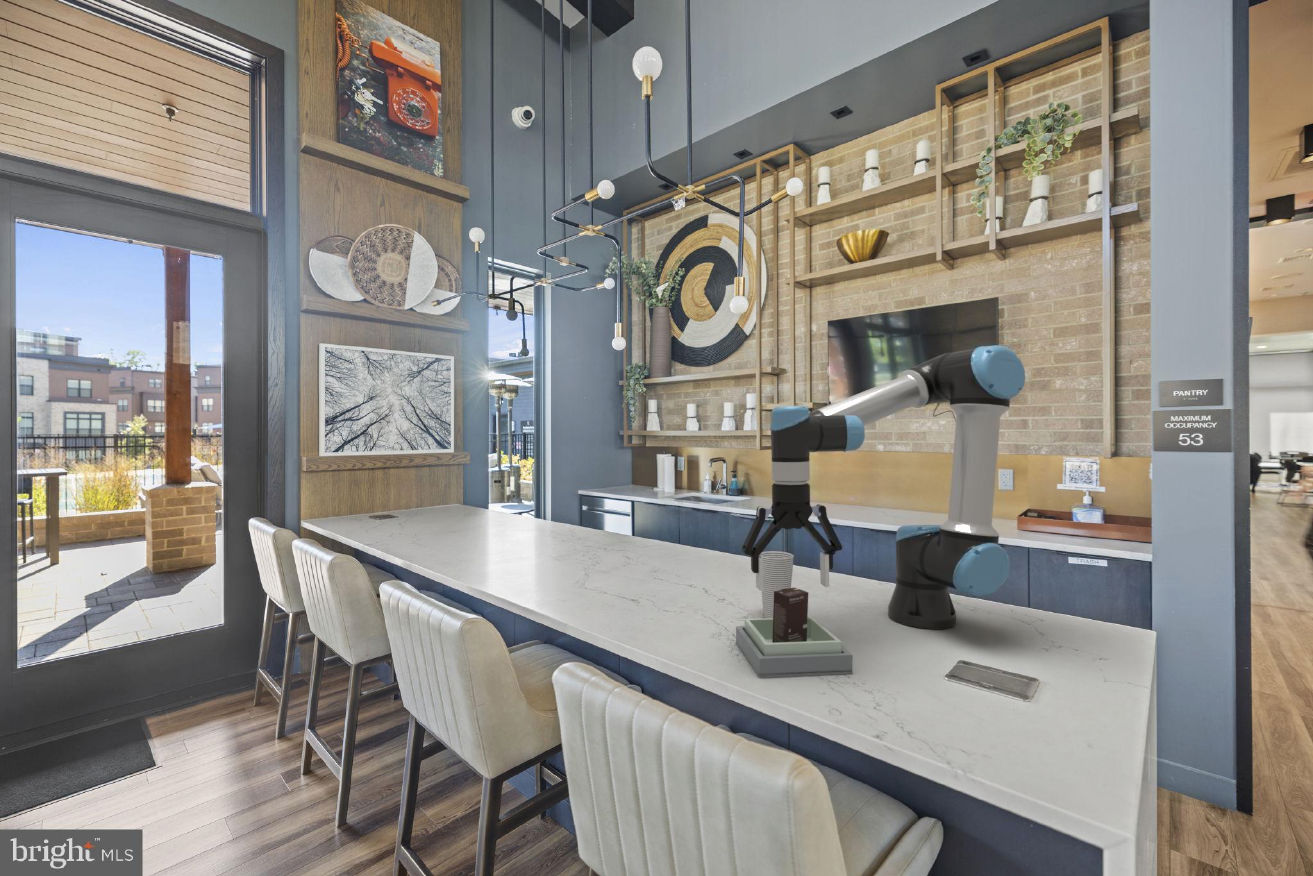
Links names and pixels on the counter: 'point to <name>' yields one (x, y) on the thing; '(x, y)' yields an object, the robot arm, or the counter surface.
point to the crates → (792, 651)
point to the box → (790, 615)
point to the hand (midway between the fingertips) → (792, 587)
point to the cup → (775, 577)
